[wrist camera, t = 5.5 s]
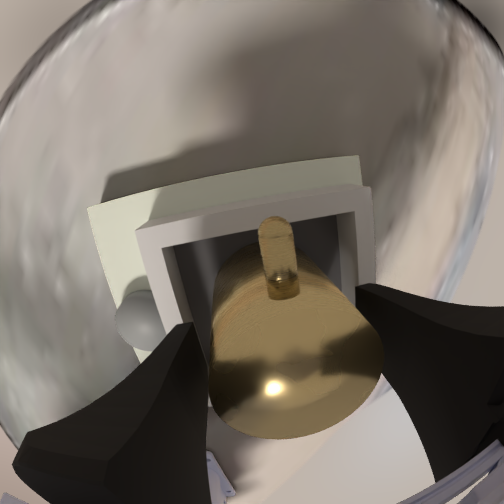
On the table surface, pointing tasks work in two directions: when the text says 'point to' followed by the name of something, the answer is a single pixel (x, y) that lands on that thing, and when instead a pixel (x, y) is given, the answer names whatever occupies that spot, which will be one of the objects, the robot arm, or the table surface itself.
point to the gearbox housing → (226, 239)
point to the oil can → (286, 342)
